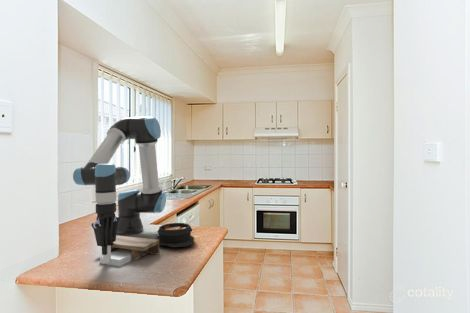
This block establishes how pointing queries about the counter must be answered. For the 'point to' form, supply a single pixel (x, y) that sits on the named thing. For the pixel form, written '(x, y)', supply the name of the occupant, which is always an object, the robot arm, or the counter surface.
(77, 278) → the counter surface
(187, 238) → the casserole
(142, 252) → the low shelf
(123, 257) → the plastic case
